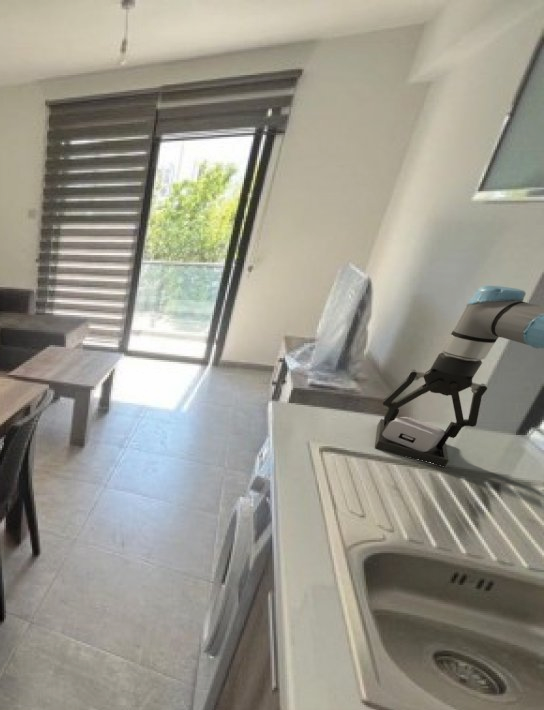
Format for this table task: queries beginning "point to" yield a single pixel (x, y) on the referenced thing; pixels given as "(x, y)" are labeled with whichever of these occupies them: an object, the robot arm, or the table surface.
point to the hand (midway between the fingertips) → (410, 439)
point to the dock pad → (390, 446)
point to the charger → (413, 433)
